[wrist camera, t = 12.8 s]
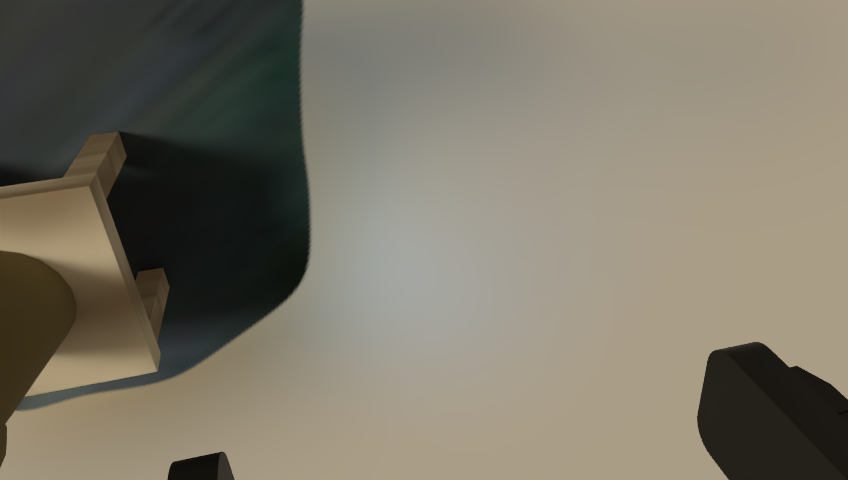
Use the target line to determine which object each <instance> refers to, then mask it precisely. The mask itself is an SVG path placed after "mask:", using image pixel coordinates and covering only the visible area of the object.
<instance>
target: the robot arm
mask: <svg viewBox="0 0 848 480" xmlns="http://www.w3.org/2000/svg"><path fill="white" fill-rule="evenodd" d="M697 422H698V429H699V433H700V436H701V439H702V442H703V444H704V446H705V448H706V449H707V451H708V452H709V454H710V455H711V456H712V458H713V459H714V461H715V462H716V463H717V465H718V466H719V467H720V469H721V470H722V471H723V473H724V474H725V475H726V476H727V478H728V479H729V480H848V400H847V399H846V398H845V397H844V396H843V395H842V394H841V393H840V392H839V391H838V390H836V389H835V388H834V387H833V386H832V385H831V384H829V383H827V382H825V381H824V380H822V379H820V378H818V377H816V376H815V375H812V374H811V373H809V372H807V371H805V370H803V369H802V368H800V367H798V366H795V367H790V368H789V367H788V366H787V365H786V364H785V363H784V362H783V361H782V360H781V359H780V358H779V357H778V356H777V355H776V354H775V353H773V352H772V351H771V350H770V349H769V348H768V347H767V346H765V345H764V344H762V343H759V342H753V343H748V344H744V345H739V346H734V347H729V348H725V349H719V350H715V351H713V352H712V353H711V354H710V356H709V358H708V361H707V366H706V372H705V377H704V383H703V388H702V393H701V399H700V404H699V410H698V416H697ZM168 480H234V477H233V474H232V471H231V468H230V465H229V462H228V459H227V456H226V454H225V453H224V452H219V453H214V454H209V455H204V456H199V457H195V458H190V459H185V460H180V461H175V462H173V463H172V464H171V466H170V469H169V474H168Z"/></svg>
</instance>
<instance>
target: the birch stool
mask: <svg viewBox="0 0 848 480" xmlns="http://www.w3.org/2000/svg"><path fill="white" fill-rule="evenodd" d="M126 157H127V156H126V153H125V149H124V146H123V143H122V140H121V137H120V134H119V131H118V132H111V133H104V134H97V135H90V137H89V138H88V140H87V141H86V143H85V144H84V146H83V147H82V149H81V150H80V152H79V153H78V155H77V157H76V158H75V160H74V161H73V163H72V164H71V166H70V167H69V169H68V170H67V172H66V173H65V175H64V176H63V178H58V179H51V180H44V181H37V182H30V183H24V184H17V185H10V186H3V187H0V250H1V251H9V252H17V253H22V254H24V255H27V256H30V257H32V258H35V259H38V260H40V261H42V262H44V263H45V264H47V265H48V266H49V267H51V268H52V269H54V270H55V271H57V272H58V273H59V274H60V275H61V276H62V277H63V279H64V280H65V281H66V282H67V284H68V285H69V286H70V287H71V289H72V292H73V295H74V298H75V300H76V303H77V307H76V320H75V322H74V324H73V326H72V328H71V329H70V331H69V333H68V335H67V336H66V338H65V339H64V340H63V342H62V343H61V345H60V346H59V348H58V349H57V350H56V352H55V353H54V355H53V356H52V358H51V359H50V360H49V362H48V363H47V365H46V366H45V368H44V369H43V371H42V372H41V373H40V375H39V376H38V378H37V379H36V381H35V382H34V383H33V385H32V386H31V388H30V389H29V391H28V392H27V393H26V395H25V396H24V397H26V396H31V395H36V394H42V393H47V392H52V391H57V390H63V389H68V388H73V387H79V386H84V385H89V384H94V383H100V382H105V381H110V380H115V379H121V378H126V377H131V376H137V375H142V374H147V373H152V372H157V370H158V366H159V361H160V356H161V353H160V350H159V347H158V344H157V341H158V336H159V332H160V327H161V323H162V319H163V314H164V310H165V305H166V301H167V297H168V292H169V288H170V287H169V284H168V281H167V278H166V275H165V272H164V269H163V268H157V269H151V270H145V271H140V272H138V274H137V277H136V280H134V277H133V274H132V271H131V269H130V266H129V263H128V260H127V257H126V255H125V252H124V249H123V246H122V243H121V241H120V238H119V235H118V232H117V229H116V227H115V224H114V221H113V218H112V215H111V213H110V210H109V207H108V204H107V201H106V199H107V197H108V195H109V192H110V190H111V188H112V186H113V184H114V182H115V180H116V178H117V176H118V174H119V172H120V170H121V167H122V165H123V163H124V161H125V159H126Z"/></svg>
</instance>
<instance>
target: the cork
mask: <svg viewBox="0 0 848 480" xmlns="http://www.w3.org/2000/svg"><path fill="white" fill-rule="evenodd" d="M76 307H77V303H76V300H75V298H74V295H73V292H72V289H71V287H70V286H69V285H68V284H67V282H66V281H65V280H64V279H63V277H62V276H61V275H60V274H59V273H58V272H57V271H55V270H54V269H52V268H51V267H49V266H48V265H47V264H45V263H44V262H42V261H40V260H38V259H35V258H32V257H30V256H27V255H24V254H22V253H17V252H9V251H1V250H0V467H1V465H2V462H3V460H4V457H5V455H6V444H7V427H6V425H5V423H6V422H7V420H8V419H9V418H10V416H11V415H12V414H13V412H14V411H15V409H16V408H17V406H18V405H19V404H20V402H21V401H22V399H23V398H24V396H25V395H26V393H27V392H28V391H29V389H30V388H31V386H32V385H33V383H34V382H35V381H36V379H37V378H38V376H39V375H40V373H41V372H42V371H43V369H44V368H45V366H46V365H47V363H48V362H49V360H50V359H51V358H52V356H53V355H54V353H55V352H56V350H57V349H58V348H59V346H60V345H61V343H62V342H63V340H64V339H65V338H66V336H67V335H68V333H69V331H70V329H71V328H72V326H73V324H74V322H75V320H76Z"/></svg>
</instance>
